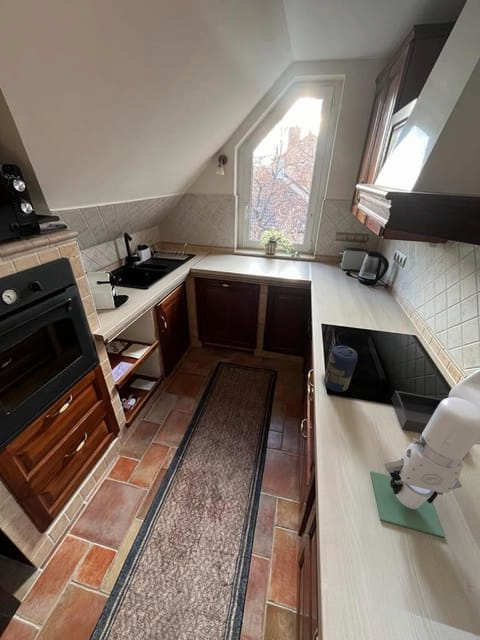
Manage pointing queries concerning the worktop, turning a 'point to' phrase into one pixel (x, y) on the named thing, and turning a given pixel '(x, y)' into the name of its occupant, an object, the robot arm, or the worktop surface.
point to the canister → (340, 368)
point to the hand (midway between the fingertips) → (410, 492)
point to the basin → (414, 410)
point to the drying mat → (403, 509)
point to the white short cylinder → (413, 496)
